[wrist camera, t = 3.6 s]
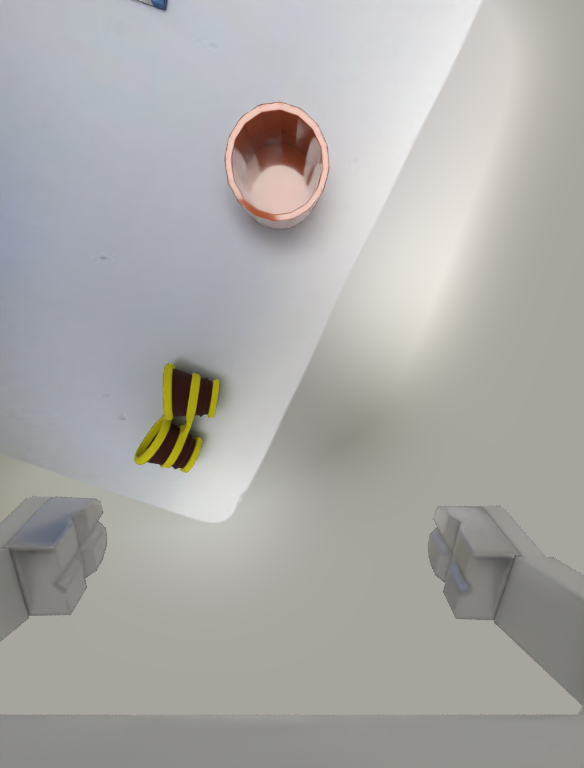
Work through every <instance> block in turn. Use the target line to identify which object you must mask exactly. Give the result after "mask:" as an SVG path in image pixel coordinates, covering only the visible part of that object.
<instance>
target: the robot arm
mask: <svg viewBox="0 0 584 768" xmlns="http://www.w3.org/2000/svg"><path fill="white" fill-rule="evenodd" d="M102 514H103V510H102V505H101V502H100V501H99V500H98V499H93V498H72V497H41V496H39V497H38V496H32V497H29V498H27V499H25V500H24V501H23V502H22V503H21V504H20V505H19V506H18V507H17V508H16V509H15V510H14V511H13V512H12V513H11V514H10V515H9V516H7V518H5V519H4V520H3V521H2V522H1V523H0V641H1V640H3V639H4V638H5V637H7V636H8V635H9V634H10V633H11V632H12V631H14V630H15V629H16V628H18V627H19V626H20V625H21V624H22V623H24V622H25V621H26V620H27V619H28V618H29V616H45V615H71V614H72V612H73V610H74V608H75V607H76V605H77V603H78V602H79V600H80V598H81V597H82V595H83V593H84V591H85V590H86V588H87V586H86V580H85V578H87V577H88V576H89V575H91V574H92V573H94V572H95V571H96V570H97V569H98V567H99V565H100V564H101V562H102V560H103V557H104V553H105V550H106V545H107V533H106V528H105V527H104V526H103V525H102V524H101V523H100V522H99V521H98V520H99V518H100V517H101V515H102ZM433 520H434V522H435V524H436V526H437V528H436V529H435V530H433V531H432V532H431V533H430V536H429V542H428V552H429V559H430V563H431V566H432V569H433V571H434V573H435V575H436V576H437V577H438V578H440V579H441V580H442V581H443V582H445V586H444V590H443V593H444V595H445V597H446V599H447V601H448V603H449V605H450V607H451V610H452V612H453V614H454V616H455V618H456V619H476V620H495V621H494V623H495V624H496V625H497V626H498V627H499V628H501V629H502V630H503V631H504V632H505V633H506V634H507V635H508V636H509V637H510V638H511V639H512V640H513V641H514V642H515V643H516V644H517V645H519V646H520V647H521V648H522V649H523V650H524V651H525V652H526V653H527V654H528V655H529V656H530V657H531V658H533V660H534V661H535V662H537V663H538V664H539V665H540V666H541V667H542V668H543V669H544V670H545V671H546V672H547V673H548V674H549V675H550V676H551V677H552V678H554V679H555V680H556V681H557V682H558V683H559V684H560V685H561V686H562V687H563V688H564V689H565V690H566V691H567V692H569V694H571V695H572V696H573V697H574V698H575V699H576V700H577V701H578V702H579V703H580V704H581V705H582V707H581V709H580V712H579V713H578V715H0V768H584V575H583V574H581V573H580V572H578V571H576V570H574V569H572V568H571V567H569V566H567V565H565V564H564V563H562V562H561V561H559V560H557V559H555V558H554V557H546V556H545V555H544V554H543V553H542V551H541V550H540V549H539V548H538V547H537V546H536V544H535V543H534V542H533V541H532V540H531V539H530V538H529V536H528V535H527V534H526V533H525V532H524V530H523V529H522V528H521V527H520V526H519V525H518V523H517V522H516V521H515V520H514V519H513V518H512V516H511V515H510V514H509V513H508V512H507V511H506V510H505V509H504V508H503V507H501V506H478V507H477V506H438V507H437V509H436V510H435V513H434V518H433Z"/></svg>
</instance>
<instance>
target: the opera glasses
mask: <svg viewBox="0 0 584 768" xmlns="http://www.w3.org/2000/svg"><path fill="white" fill-rule="evenodd" d="M218 392H219V380H218V379H214V380H213V381H209V380H208V378H205V379H203V378H201V376H200V375H198V374H196V373H193V374H189V373H186V372H183V371H180V370H177V369H175V366H174V365H173V364H170V363H168V364H166V366H165V368H164V373H163V410H164V416H163V417H162V418H161V419H160V420H159V421H158V422H157V423H156V424H155V425H154V426H153V427H152V429H151V430H150V431H149V433H148V434H147V435H146V437H145V438H144V440H143V441H142V443H141V444H140V446H139V448H138V449H137V451H136V454H135V457H134V461H135V463H136V464H138V465H142V464H145V463H146V462H149V463H155V464H160V466H161V467H164V468H170V467H171V466H172V467H173V468H174V469H177V468H180V470H181V471H182V472H185V473H187V472H188V471H189V470H190V469H191V468H192V467H193V465H194V463H195V461H196V460H197V457H198V455H199V453H200V450H201V447H202V439H201V438H199V437H195V438H194V437H193V435H192V434H191V433H190V434H188V433H189V430H190V428H191V425H192V422H193V420H194V417H195V415H199V416H200V417H201V416H203V415H206V414H207V415H208V417H210V418H214V415H215V411H216V406H217V400H218ZM176 416H186V419H187V421H186V423H185V424H184V425H182V426H179V427H178V426H176V425H175V424H174V423H172V422H171V420H172V419H173V417H176Z"/></svg>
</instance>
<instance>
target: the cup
mask: <svg viewBox="0 0 584 768" xmlns="http://www.w3.org/2000/svg"><path fill="white" fill-rule="evenodd" d="M225 166H226V173H227V179H228V183H229V185H230V187H231V189H232V191H233V193H234V194H235V196H236V198H237V200H238V202H239V203H240V204H241V205H242V206H243V208H244V209H245V210H246V211H247V212H248V213H249V215H251V216H252V217H253V218H254V219H255V220H256V221H258V222H259V223H260V224H262V225H264V226H267V227H270V228H274V229H285V228H290V227H293V226H295V225H297V224H299V223H300V222H301V221H303V220H304V219H306V217H307V216H308V215H309V213H310V212H311V211H312V209H313V208H314V206H315V205H316V203H317V201H318V199H319V198H320V196H321V194H322V192H323V190H324V187H325V183H326V180H327V176H328V172H329V158H328V147H327V144H326V141H325V139H324V137H323V135H322V133H321V130H320V128H319V126H318V125H317V123H316V122H315V121H314V120H313V119H312V118H310V117H309V116H308V115H307V114H306V113H305V112H304V111H303V110H302V109H300V108H297V107H295V106H292V105H289V104H286V103H283V102H275V103H268V104H261V105H258V106H257V107H255V108H254V109H252V110H251V111H249V112H248V113H246V114H245V115H243V116H242V117H241V118H240V120H239V121H238V123H237V124H236V126H235V128H234V129H233V131H232V132H231V134H230V136H229V139H228V144H227V149H226V154H225Z"/></svg>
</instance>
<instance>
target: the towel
mask: <svg viewBox="0 0 584 768" xmlns="http://www.w3.org/2000/svg"><path fill="white" fill-rule="evenodd" d="M139 1H141V2H144V3H147V4H150V5H153V6H156V7H159V8H162V9H164V10H165V9H166V2H167V0H139Z"/></svg>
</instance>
